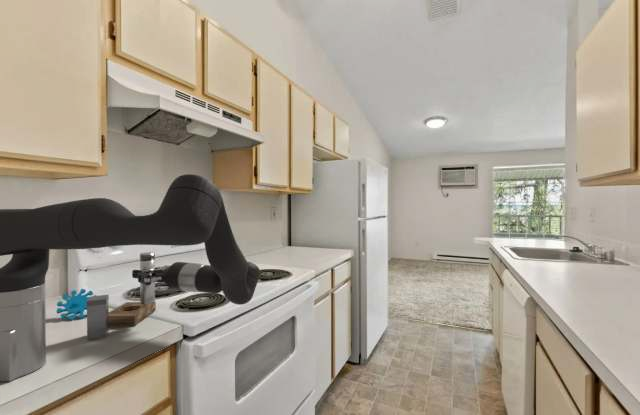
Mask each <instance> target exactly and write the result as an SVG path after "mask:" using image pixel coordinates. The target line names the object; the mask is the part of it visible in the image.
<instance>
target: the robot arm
mask: <svg viewBox="0 0 640 415" xmlns="http://www.w3.org/2000/svg"><path fill="white" fill-rule="evenodd" d="M226 211H227V210H226V207H225V203H224V200H223V196H222V194H221V191H220V190H219V188H218V187H217V186H216V185H215V184H214V183H213V182H212V181H211V180H210V179H208V178H206V177H204V176H201V175H197V174H189V173H186V174H183V175H179V176H177V177H176V178H175V179H173V181H172V182H171V184H170V185H169V186H168V188H167V191H166V193H165V195H164V197H163V199H162V202H161V204H160V205H159V207H158V210H157V211H155V212H153V213H150V214H146V215H135V214H133V212H132V211H130V210H129V209H128V208H127V207H125V206H124V205H122V204H121V203H119V202H117V201H115V200H113V199H110V198H106V197H96V198H95V197H94V198H87V199H86V198H85V199H78V200H73V201H67V202H60V203H55V204H50V205H49V204H48V205H45V206H39V207H36V208H8V209H7V208H1V209H0V257H1V256H2V257H3V256H9V255H12V257H11V258H10V260H9V261H8V262H7V263H6V264H5V265H3V266H1V267H0V382H11V381H14V380H15V379H17V378H20V377H23V376H26V375H28V374H29V375H30V374H31V373H33V372H35V371H37V370H39V369H40V368H42V367H43V366H44V365H46V363H47V334H46V333H47V332H46V331H47V328H46V326H47V325H46V323H47V322H46V316H47V315H46V276H47V272H48V270H49V267H50V266H49V265H50V250H88V249H90V250H91V249H99V248H109V247H120V246H135V245H136V246H140V245H142V246H178V247H179V246H181V247H182V246H184V247H185V246H196V245H200V244H204V249H205V253H206V256H207V261H208V263H209V265H208V264H203V263H195V262H185V261H175V262H174V263H171V265H164V266H157V267H156V266H155V269H151V270H149V271H147V270H140V269H132V272H131V276H132V278H133V279H137V282H138V283H139V284H140V283H142V284H145V285H151V282H155V283H159V284H163V285H164V284H166V286H167V287H168V288H169V289H170V290H173V291H180V292H181V291H182V292H189V293H207V294H219V293H221V292H222V294H223V295H224V297H225V298H226V299H227V300H228V301H229V302H230V303H232V304H235V305H246V304H248V303H249V302H250V301H252V299H253V297H254V294H255V291H256V288H257V285H258V281H259V279H260V275H261V270H260V268H259V266H258V265H257V264H256V263H254V262H250V261H248V260H247V259H246V257H245V255H244V253H243V252H242V251H241V249H240V247H239V245H238V243H237V240H236V238H235V235H234V233H233V230H232V227H231V223H230V221H229V217H228V214H227V212H226ZM154 272H155V273H154ZM147 273H149V274H147Z"/></svg>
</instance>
